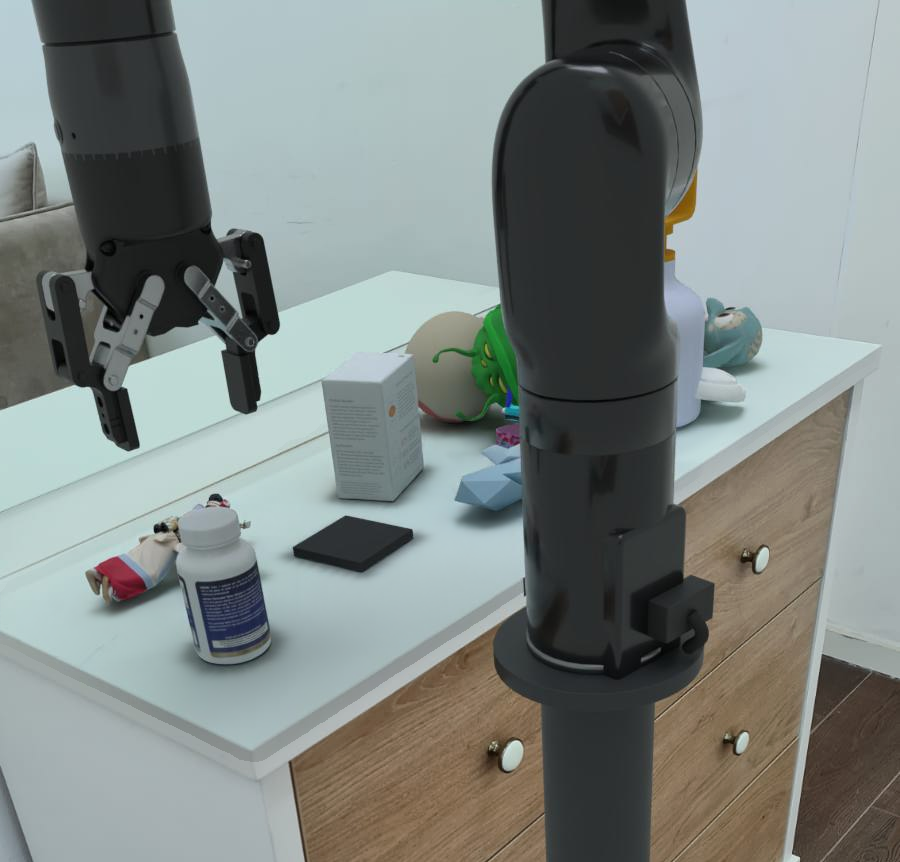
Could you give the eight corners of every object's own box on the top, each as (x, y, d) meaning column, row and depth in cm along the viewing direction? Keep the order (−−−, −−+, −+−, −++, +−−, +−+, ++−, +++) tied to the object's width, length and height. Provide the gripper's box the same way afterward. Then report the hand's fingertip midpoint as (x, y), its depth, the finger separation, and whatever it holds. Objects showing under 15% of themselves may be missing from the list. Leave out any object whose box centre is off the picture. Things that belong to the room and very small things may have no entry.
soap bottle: (587, 422, 114) (585, 136, 100) (643, 396, 119) (649, 120, 105) (662, 439, 109) (672, 140, 95) (718, 411, 114) (735, 123, 100)
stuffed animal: (659, 296, 130) (768, 276, 124) (669, 361, 133) (776, 346, 127) (630, 322, 122) (744, 303, 116) (641, 391, 126) (753, 376, 120)
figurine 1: (152, 639, 86) (299, 545, 94) (80, 554, 86) (232, 467, 94) (141, 673, 92) (280, 581, 99) (72, 593, 92) (216, 507, 99)
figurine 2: (414, 325, 107) (478, 263, 99) (526, 304, 116) (594, 245, 108) (470, 453, 108) (539, 403, 100) (576, 423, 117) (648, 374, 109)
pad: (413, 538, 96) (412, 528, 95) (362, 572, 91) (360, 562, 91) (346, 523, 99) (345, 514, 99) (293, 556, 95) (292, 547, 94)
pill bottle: (288, 639, 83) (265, 509, 78) (237, 673, 80) (209, 540, 74) (232, 623, 86) (205, 496, 80) (180, 656, 82) (149, 526, 77)
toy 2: (468, 258, 112) (423, 312, 121) (413, 344, 108) (370, 392, 117) (547, 328, 115) (497, 375, 124) (496, 414, 111) (448, 456, 120)
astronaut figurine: (701, 391, 122) (707, 360, 121) (759, 405, 112) (766, 371, 110) (625, 384, 120) (629, 353, 118) (677, 398, 109) (682, 363, 108)
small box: (370, 466, 110) (356, 350, 104) (425, 469, 108) (415, 352, 102) (335, 499, 104) (318, 378, 98) (394, 503, 102) (380, 380, 96)
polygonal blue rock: (533, 497, 107) (533, 436, 105) (595, 503, 102) (597, 439, 100) (431, 513, 98) (429, 447, 96) (494, 520, 93) (494, 451, 91)
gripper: (38, 162, 58) (115, 476, 68) (275, 121, 65) (314, 411, 75) (-22, 152, 63) (58, 447, 73) (205, 114, 70) (250, 388, 80)
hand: (188, 428), depth 74 cm, fingers open, 8 cm apart
